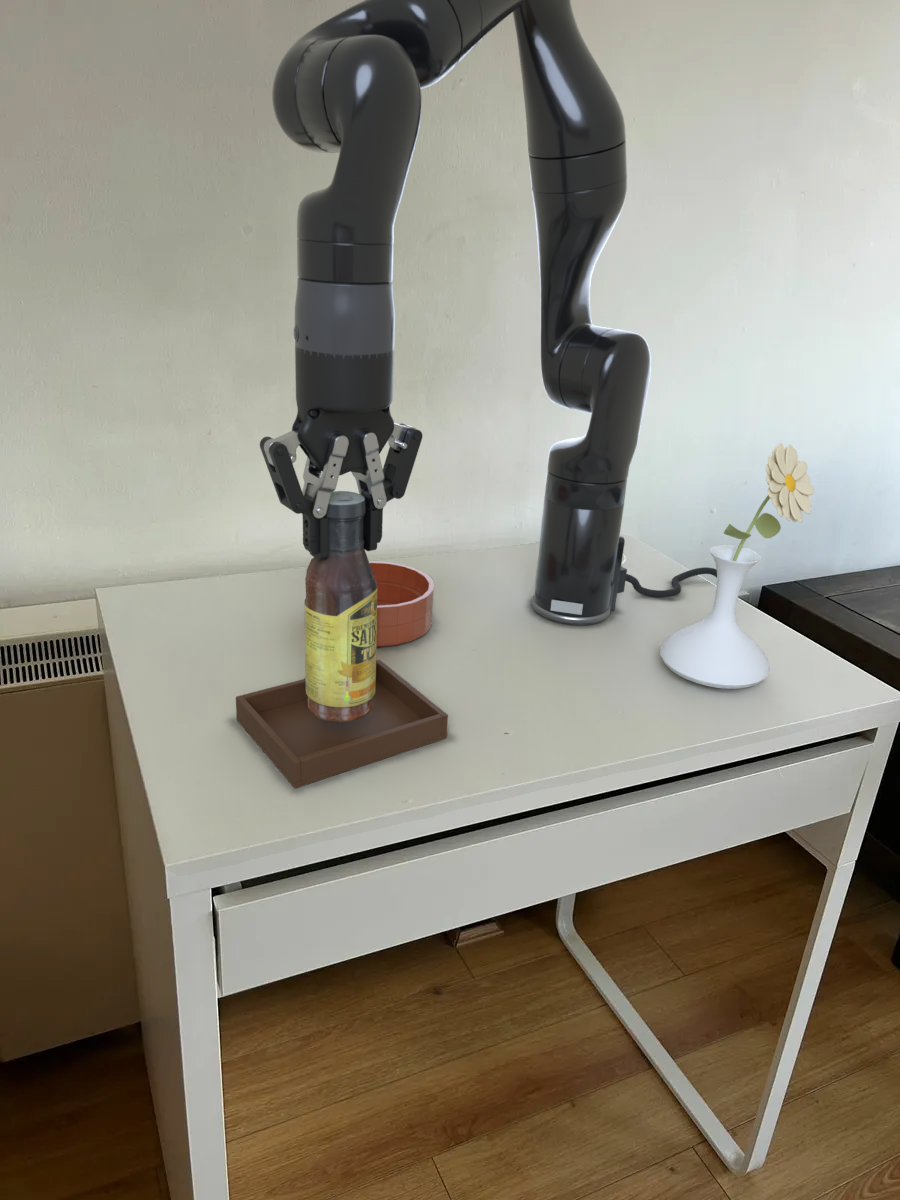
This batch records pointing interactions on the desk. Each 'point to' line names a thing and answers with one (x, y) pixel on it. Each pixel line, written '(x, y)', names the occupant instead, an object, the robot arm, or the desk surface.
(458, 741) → the desk surface
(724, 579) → the flower in vase
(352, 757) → the tray
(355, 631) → the sauce bottle
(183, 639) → the desk surface
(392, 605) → the bowl
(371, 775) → the desk surface
